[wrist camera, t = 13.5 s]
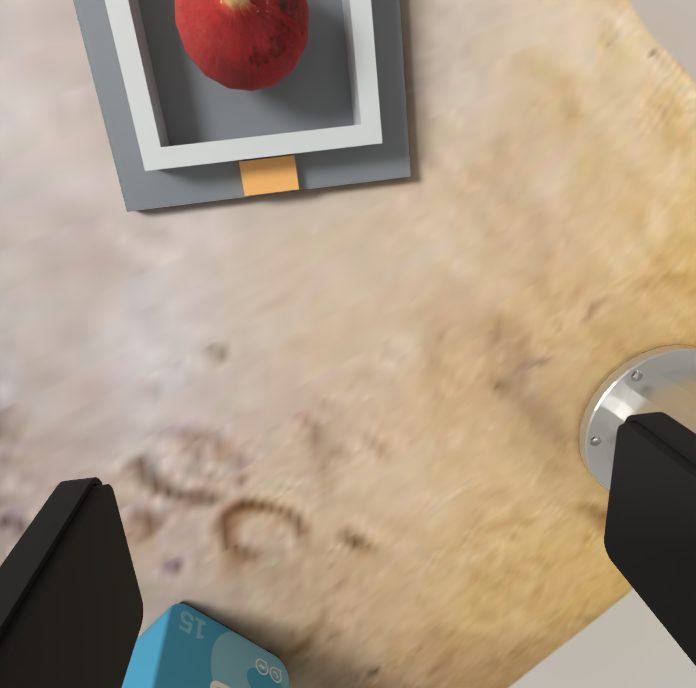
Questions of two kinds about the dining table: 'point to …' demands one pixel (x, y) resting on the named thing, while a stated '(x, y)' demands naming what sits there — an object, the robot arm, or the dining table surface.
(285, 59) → the onion
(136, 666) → the data package
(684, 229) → the dining table surface
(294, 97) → the tray
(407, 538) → the dining table surface
